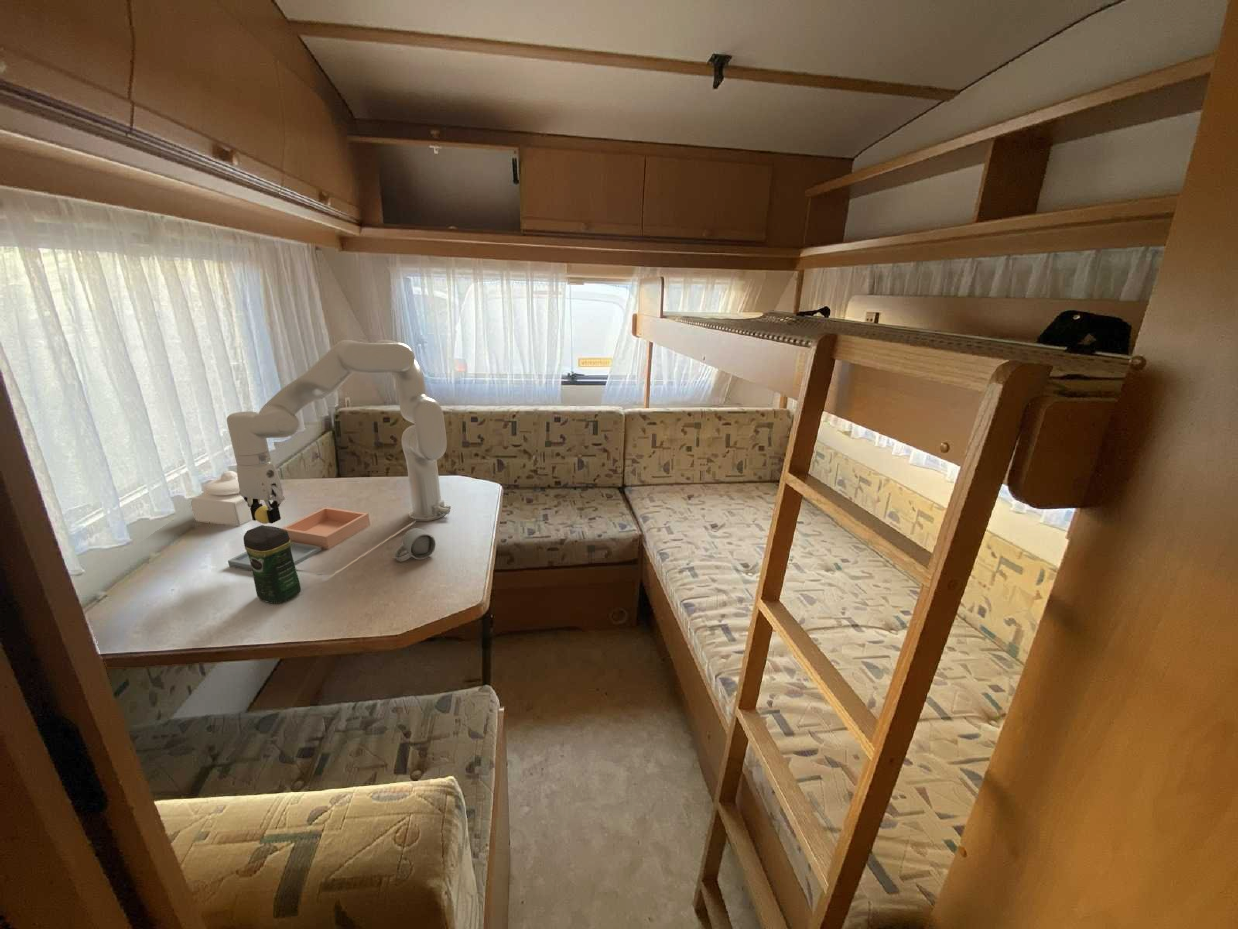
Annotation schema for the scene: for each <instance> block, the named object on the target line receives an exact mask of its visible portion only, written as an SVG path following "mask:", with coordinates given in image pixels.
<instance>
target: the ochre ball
mask: <svg viewBox="0 0 1238 929" xmlns="http://www.w3.org/2000/svg"><path fill="white" fill-rule="evenodd" d="M266 510H268V508H267V506H261V507H259V508H258V509H257V510H256V512H255V518H256V521H257V522H258V523H260V524H262V525H266V524H270V523H269V520H268V516H267V511H266Z"/></svg>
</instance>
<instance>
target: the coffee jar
mask: <svg viewBox="0 0 1238 929" xmlns="http://www.w3.org/2000/svg"><path fill="white" fill-rule="evenodd" d="M281 528H282V527H281ZM281 528H280V527H276V526H273V525H272V526H271V525H265V524H262V525H258V526H256V527H252V528H251V529H248V530H246V531H245V533H244V535H243V544H244V545H243V546H244V549H245V552H246V551H247V554H248V556H249V559H250V563H251V568H252V571H251V573H252V576H253V582H254V587H255V591H256V592H255V593H256V595H257V598H258V599H260V600H261V601H264V602H266V603H269V604H280V603H282V602H287V601H290V600H291V599H293V598H295V597H296V596H297V595H298V594H300V592H301V590H302V587H301V584H300V579H299V576H298V573H297V569H296V565H294V561H293V557H292V553H291V546H290V544H291V541H290V538H289V535H288V532H287V530H284V529H281Z"/></svg>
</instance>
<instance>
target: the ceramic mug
mask: <svg viewBox="0 0 1238 929" xmlns="http://www.w3.org/2000/svg"><path fill="white" fill-rule="evenodd" d="M401 541H402V542H401V543H402V546H400V548H398V549H397V550H396V551H395V553H394V558H395V559H396V561H398V562H399V563H402V562H405V561H407V560H408V559H410V558H411V557H412V558H413V559H416V560H425V559H427V558H429V557H431V555H433V554H434V553H433V552H435V550H436V544H437V543H436V539H435V537H434V536H432V535H431V534H430V533H428V532H427V531H425V530H424V529H422V528H419V527H413V528H410V529H408V530H407V531H406V532H405V533H404V534H403V536H402V540H401ZM404 551H406V552H407V553H406V554H404V555H402V556H400V555H401V554H402V553H403V552H404Z"/></svg>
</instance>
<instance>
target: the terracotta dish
mask: <svg viewBox="0 0 1238 929" xmlns="http://www.w3.org/2000/svg"><path fill="white" fill-rule="evenodd" d="M370 525H371V523H370V517H369V513H366V512H359V511H354V510H346V509H341V508H333V507H327V506H324V507H323V508H321V509H318V510H317V511H315V512H312V513H310V514H308V515H305V516H304V517H302V518H300V519H298V520H296V521H294V522H292V523H289V524H287V525H285V526H283V527H281V529H284V530H287V532H288V535H289V538H290V541H291V542H297V543H303V544H309V545H314V546H320V547H321V548H322V549H327V550H330V549H331V548H333V547H335V546H337V545H338V544H340V543H342V542H344V541H345V540H346V539H349V538H350V537H352V536H353V535H355V534H357V533H359V532H360V531H362V530H364V529H365V528H368V526H370Z"/></svg>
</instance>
